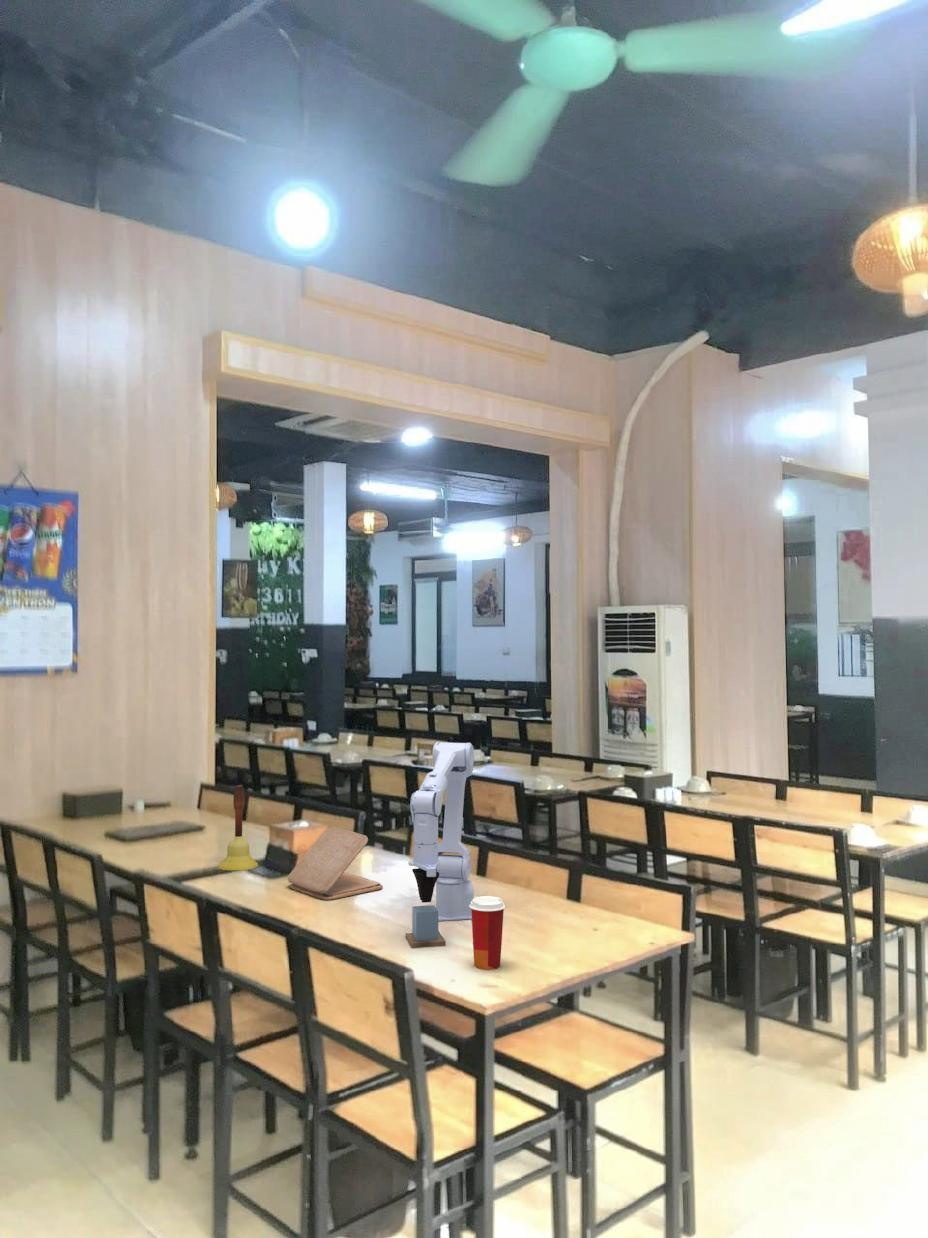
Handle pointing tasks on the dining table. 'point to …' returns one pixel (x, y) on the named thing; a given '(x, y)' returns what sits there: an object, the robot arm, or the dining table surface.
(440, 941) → the board
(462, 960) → the dining table surface
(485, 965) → the paper cup
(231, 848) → the handbell
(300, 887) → the case
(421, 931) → the blue-grey block
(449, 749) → the robot arm
